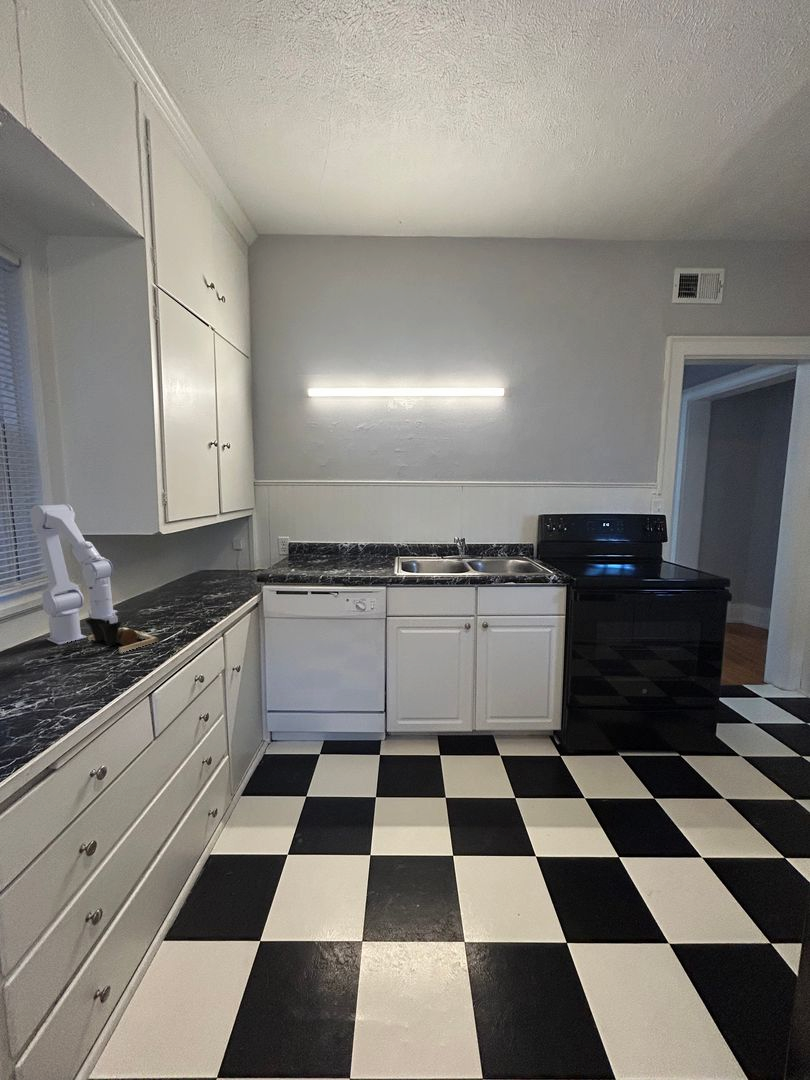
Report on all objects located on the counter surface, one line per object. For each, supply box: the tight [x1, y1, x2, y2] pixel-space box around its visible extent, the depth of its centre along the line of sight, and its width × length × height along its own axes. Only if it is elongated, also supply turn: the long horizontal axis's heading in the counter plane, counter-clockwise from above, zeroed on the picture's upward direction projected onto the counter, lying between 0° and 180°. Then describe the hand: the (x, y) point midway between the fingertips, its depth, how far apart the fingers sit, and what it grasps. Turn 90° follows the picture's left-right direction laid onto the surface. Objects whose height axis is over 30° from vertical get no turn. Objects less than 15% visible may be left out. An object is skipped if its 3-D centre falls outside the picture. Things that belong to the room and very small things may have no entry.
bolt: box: [102, 628, 139, 647], centre depth 151 cm, size 6×5×15 cm
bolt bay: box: [87, 626, 159, 654], centre depth 151 cm, size 21×11×2 cm, turn 56°
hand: (105, 642), depth 147 cm, fingers open, 7 cm apart
